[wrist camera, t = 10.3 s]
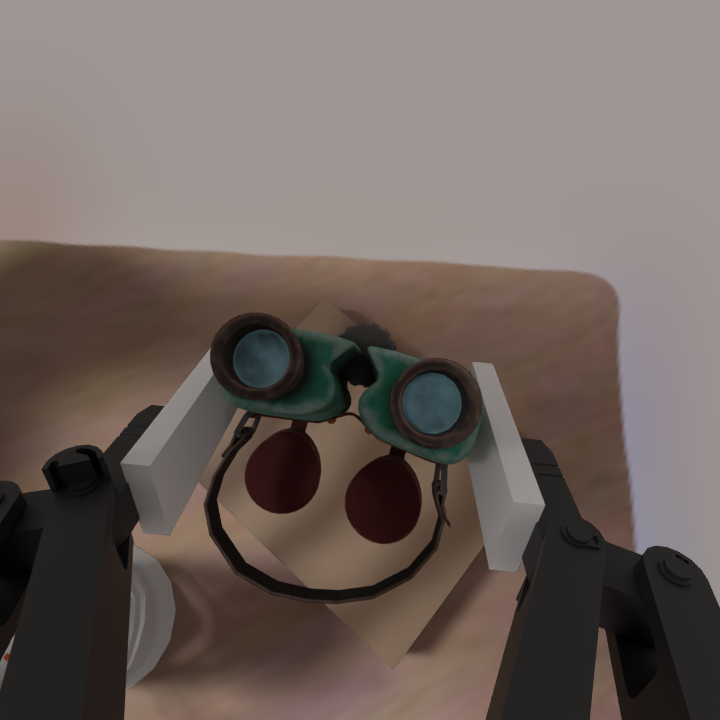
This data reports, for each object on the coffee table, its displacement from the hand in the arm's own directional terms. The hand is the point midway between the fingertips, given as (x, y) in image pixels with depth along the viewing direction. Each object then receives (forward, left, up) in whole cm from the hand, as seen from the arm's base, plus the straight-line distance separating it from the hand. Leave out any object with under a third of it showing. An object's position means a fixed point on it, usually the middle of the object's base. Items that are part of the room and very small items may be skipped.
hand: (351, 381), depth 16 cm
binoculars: (+2, -3, -4) cm, 5 cm away
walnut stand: (+2, -3, -17) cm, 17 cm away
